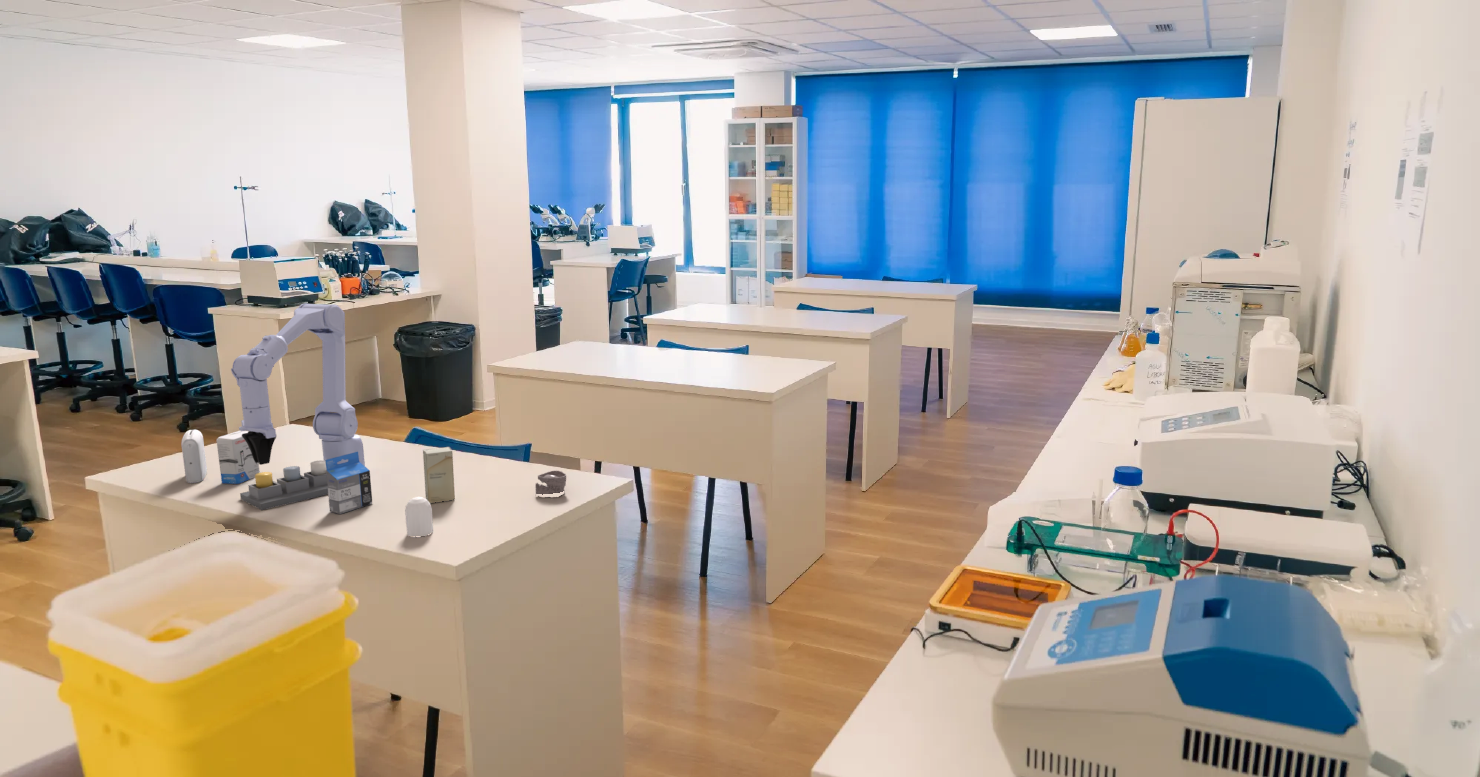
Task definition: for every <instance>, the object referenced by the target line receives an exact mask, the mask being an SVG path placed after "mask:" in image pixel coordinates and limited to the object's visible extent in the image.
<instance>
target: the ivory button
mask: <svg viewBox="0 0 1480 777" xmlns="http://www.w3.org/2000/svg"><path fill="white" fill-rule="evenodd" d="M309 464H310V465H309V466H310V472H311V475H313V476H319V475H323V474H327V472H326V463H325V461H324V460H314V461H311V462H310V463H309Z"/></svg>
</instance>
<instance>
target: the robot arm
mask: <svg viewBox="0 0 1480 777" xmlns="http://www.w3.org/2000/svg"><path fill="white" fill-rule="evenodd" d="M307 331H308V332H309V333H312V334H315V335H316V336H317V337H318V338H319V340H321V341H322V342H321V343H322V344H321V346H322V348H321V350H322V352H321V354H322V355H321V356H322V401H321V402H320V403H319V404H318V405H317V406H316V407H315V408H314V410H315V411H314V417H313V420H312V429H313V431H314V433H315V435H318V439H319V440H321V448H322V456H323V459H322V460H323V461H325V460H327V459H331V458H335V457H338V456H342V455H346V454H350V453H354V452H357V451H358V455H359V462H360V463H362V464H363V465H364V466H365V465H366V464H365V463H366V461H365V451H364V443H363V441H362V440H363V439H362V438H361V437H360V436H359V435H358V434H356V433H357V430H358V426H359V423H358V418H357V416H356V408H355V407H353V406H352V404H350V403H349V402H348V401H347V400H346V398H347V397H346V390H347V389H346V312H345V311H344V310H343V309H342V308H341V307H340V306H339V305H337V304H333V303H332V304H323V303H322V304H321V303H318V304H317V303H316V304H315V303H306V302H305V303H302V304H299V306H298V307H297V308H296V309H294V311H293V316H292V317H291V319H289V320H288V322H287V323H286V324H284V325H283V327H282V328H281V329H280V330H279V331H278V332H277V333H276V334H269V335H264V336H263V337H262V340H261V341H259V343H258V344H256V345H255V346H254V347H252V348H251V349H249V351H248V353H247V354H240V355H239V356H237V357H236V358H235V359H234V360H233V363H232V368H230V371H231V374H232V376H233V378H235V379H236V385H237V386H238V387H239V393H240V402H241V410H242V417H243V418H242V420H241V421H240V422H241V426H239V427H238V431H249V432H248V433H244V434H242V437H243V438H244V439H245V441H246V442H247V444H248V446H249V448H250V451H251V453H252V456H253V459H254V461H255V463H259V466H260V465H267V464H270V462H271V461H270V460H271V457H272V456H271V454H272V449H273V445H274V444H275V440H276V439H277V432H276V428H274V423H273V422H272V416H271V406H270V396H269V388H268V378H269V377H270V376H271V375H272V371H273V367H274V366H275V364H277V363H278V361H280V360H281V359H282V358H283V357H285V355H286V354H287V353H288V352H289V347H288V346H289V345H290V344H292V342H294V341H295V340H296V339H298V338H299V337H300V336H301V335H303V334H304V333H306V332H307ZM345 462H348V459H347V460H344V459H342V460H341V461H339V462H337V464H341V463H345ZM365 467H366V466H365Z"/></svg>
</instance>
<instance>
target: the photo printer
mask: <svg viewBox="0 0 1480 777" xmlns="http://www.w3.org/2000/svg"><path fill="white" fill-rule="evenodd" d="M203 435H204V434H203V433H202V432H201V431H200V430H198V429H189V430H187V431H186V432H185V433H184V434H183V436H182V438H181V451H182V460H183V466H184V476H185V481H186V483H188V484H196V483H201V482H202V481H204V479H205V478H206V475H207V470H208V469H207V459H206V450H205V443H204V436H203Z"/></svg>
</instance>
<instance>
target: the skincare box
mask: <svg viewBox="0 0 1480 777" xmlns="http://www.w3.org/2000/svg"><path fill="white" fill-rule="evenodd" d="M453 457H454V456H453V450H452V448H451V447H450V446H446V447H437V448H436V447H435V448H428V449H422V459H423V471H424V472H423V473H424V476H423V477H424V488H425V489H424V491H425V499H427V500H428V501H429V503H430V504H434V503H435V502H436V503H442V501H444V502H450V501H449V500H452V501H454V500H453V499H456V497H455V496H456V495H455V479H454V478H455V477H454V476H455V474H454V458H453Z"/></svg>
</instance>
